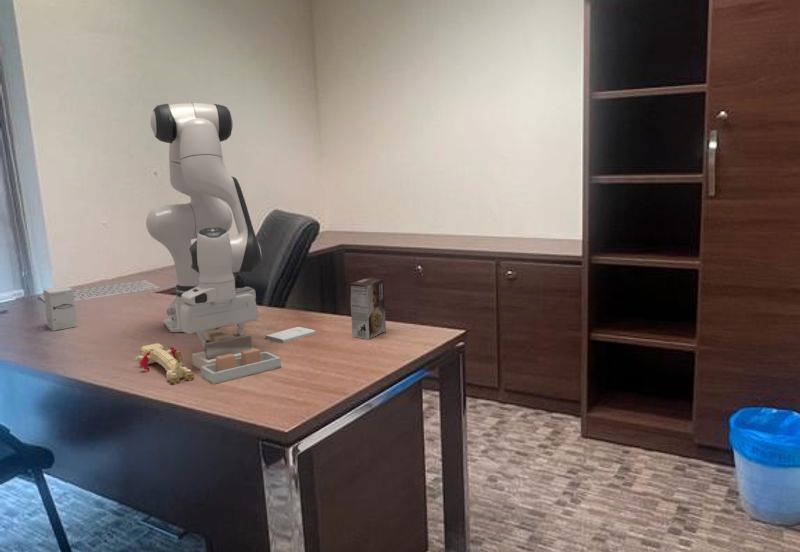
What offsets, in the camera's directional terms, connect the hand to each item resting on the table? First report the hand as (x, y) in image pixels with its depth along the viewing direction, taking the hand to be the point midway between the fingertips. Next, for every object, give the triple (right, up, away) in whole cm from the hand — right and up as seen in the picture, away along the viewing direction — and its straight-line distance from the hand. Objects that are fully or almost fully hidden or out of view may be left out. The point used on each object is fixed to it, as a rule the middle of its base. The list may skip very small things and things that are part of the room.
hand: (222, 343), depth 179 cm
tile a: (+2, -4, -8) cm, 9 cm away
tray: (+7, -6, -7) cm, 12 cm away
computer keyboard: (-74, +10, +98) cm, 123 cm away
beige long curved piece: (-14, -7, -4) cm, 16 cm away
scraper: (-2, -2, +3) cm, 4 cm away
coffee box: (+37, 0, +23) cm, 44 cm away
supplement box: (-63, +1, +44) cm, 77 cm away
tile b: (+8, -3, -4) cm, 9 cm away
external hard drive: (+14, -1, +24) cm, 28 cm away
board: (+1, -5, 0) cm, 5 cm away
